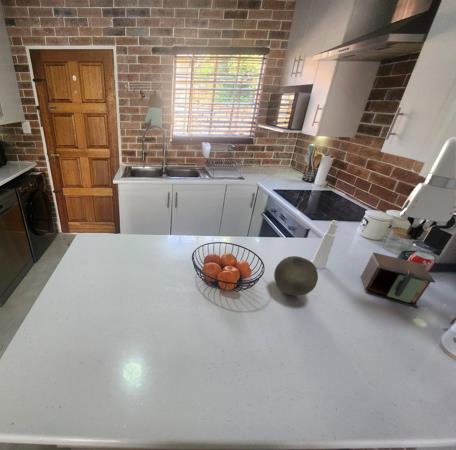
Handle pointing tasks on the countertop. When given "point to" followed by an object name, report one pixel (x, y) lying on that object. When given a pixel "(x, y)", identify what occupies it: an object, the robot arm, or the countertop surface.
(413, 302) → the cupboard
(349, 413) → the countertop surface
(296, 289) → the cantaloupe
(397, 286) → the sliding door
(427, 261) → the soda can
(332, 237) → the cosmetic bottle
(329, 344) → the countertop surface
